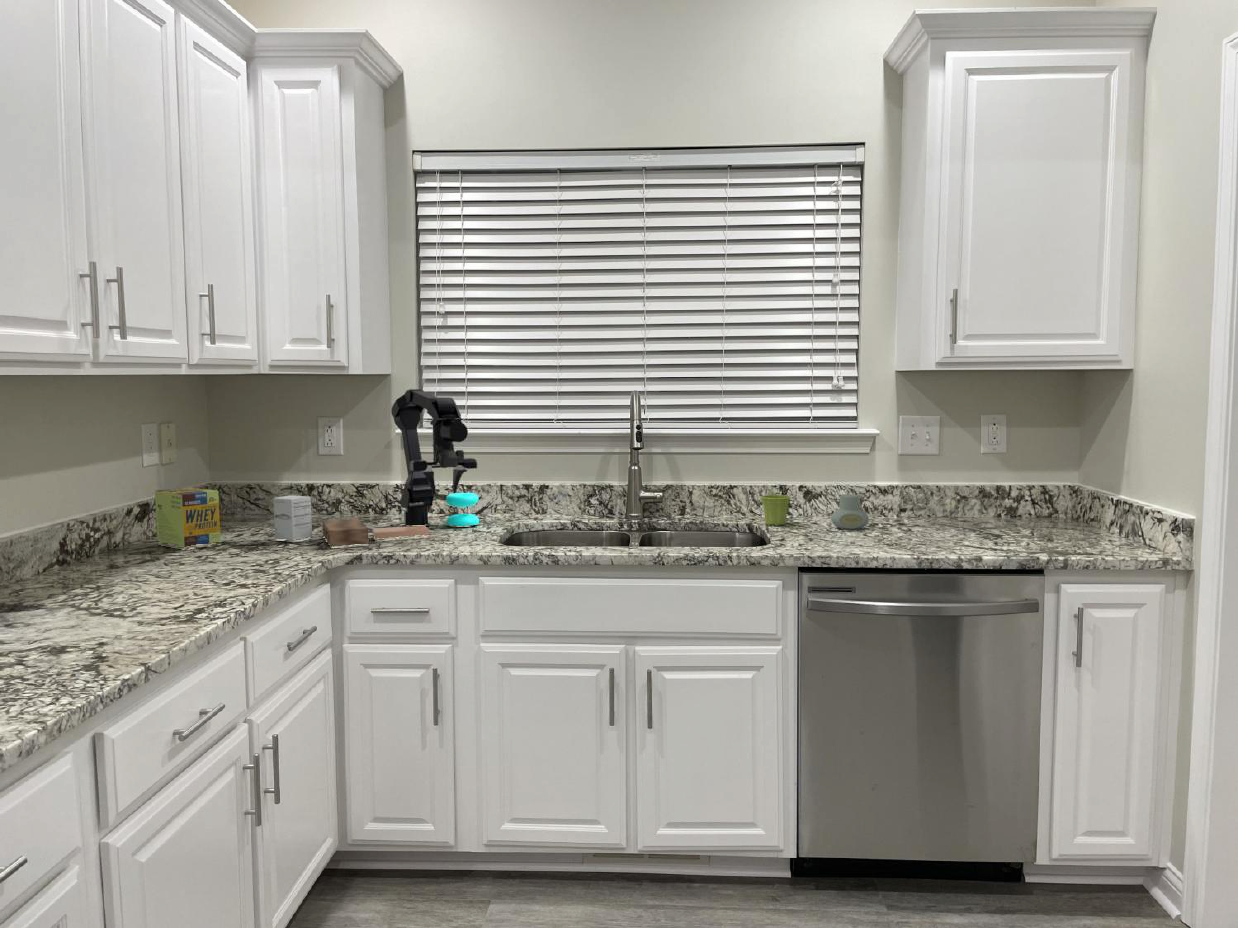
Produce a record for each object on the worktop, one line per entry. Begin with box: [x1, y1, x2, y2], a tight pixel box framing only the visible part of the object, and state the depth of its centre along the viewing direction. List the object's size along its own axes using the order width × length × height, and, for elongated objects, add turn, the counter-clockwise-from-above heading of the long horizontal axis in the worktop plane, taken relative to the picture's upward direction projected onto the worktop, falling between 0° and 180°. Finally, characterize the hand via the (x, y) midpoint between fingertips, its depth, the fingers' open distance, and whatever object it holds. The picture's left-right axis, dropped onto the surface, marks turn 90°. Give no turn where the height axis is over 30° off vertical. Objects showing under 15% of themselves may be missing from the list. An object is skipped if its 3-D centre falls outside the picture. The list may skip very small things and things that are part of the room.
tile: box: [372, 526, 430, 539], centre depth 258 cm, size 15×8×3 cm, turn 109°
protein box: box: [154, 487, 222, 547], centre depth 248 cm, size 10×15×16 cm
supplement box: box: [273, 495, 313, 540], centre depth 254 cm, size 7×7×13 cm
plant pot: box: [759, 494, 792, 526], centre depth 277 cm, size 9×9×9 cm
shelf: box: [321, 518, 370, 547], centre depth 252 cm, size 10×20×5 cm, turn 24°
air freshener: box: [830, 493, 870, 531], centre depth 267 cm, size 11×8×10 cm
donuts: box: [445, 492, 480, 526], centre depth 279 cm, size 10×10×10 cm
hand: (444, 493), depth 263 cm, fingers open, 6 cm apart
